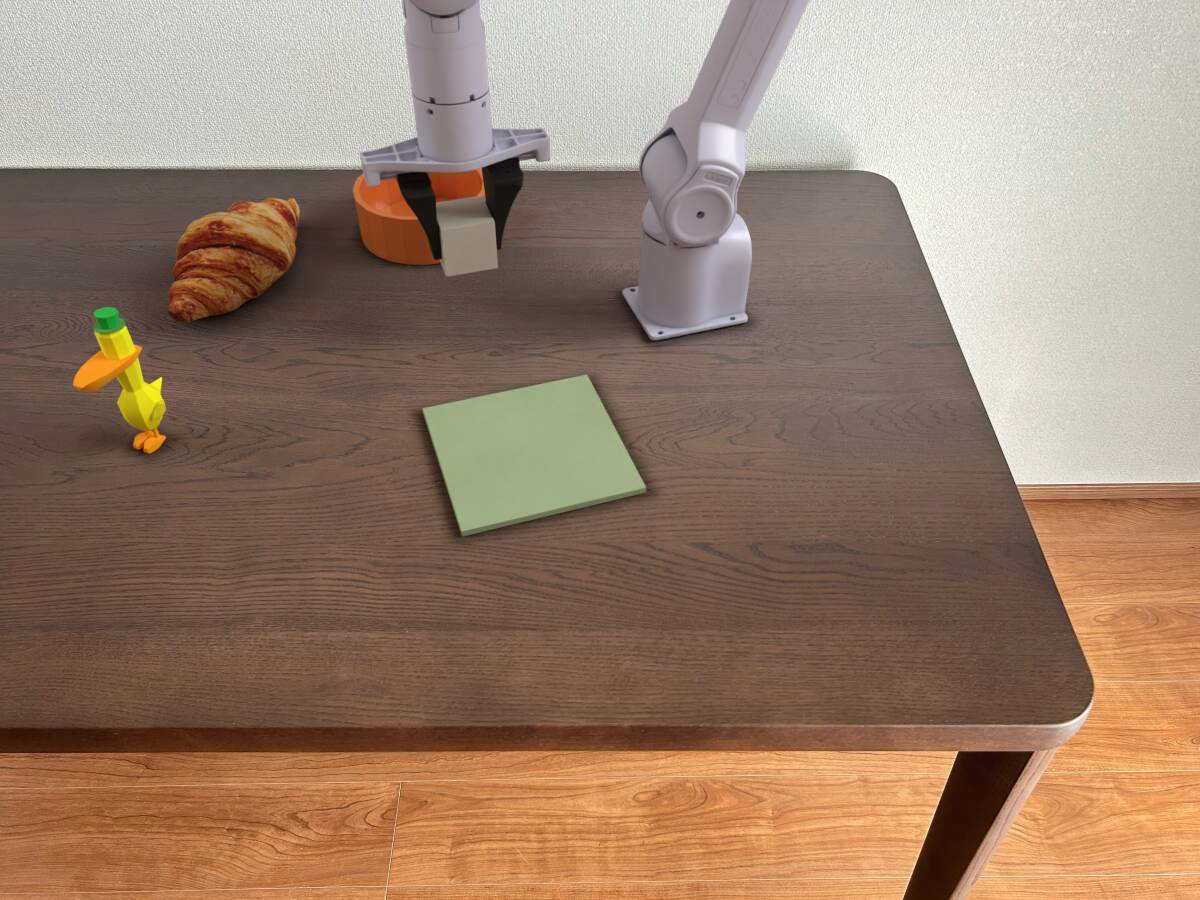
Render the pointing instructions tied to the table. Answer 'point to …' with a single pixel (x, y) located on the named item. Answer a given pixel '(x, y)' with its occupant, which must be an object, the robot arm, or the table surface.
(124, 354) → the toy figure
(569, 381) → the mat
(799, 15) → the robot arm
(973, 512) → the table surface
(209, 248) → the croissant
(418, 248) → the bowl
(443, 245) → the block
